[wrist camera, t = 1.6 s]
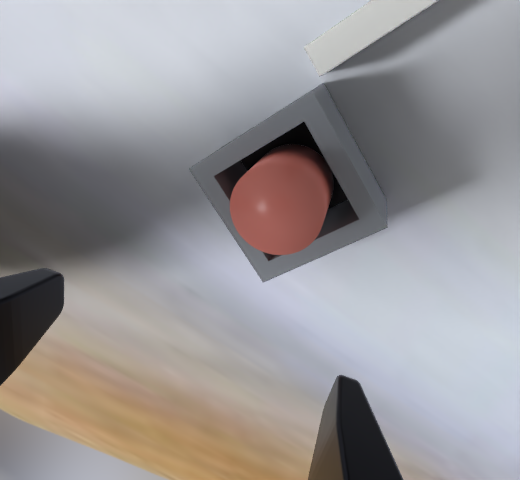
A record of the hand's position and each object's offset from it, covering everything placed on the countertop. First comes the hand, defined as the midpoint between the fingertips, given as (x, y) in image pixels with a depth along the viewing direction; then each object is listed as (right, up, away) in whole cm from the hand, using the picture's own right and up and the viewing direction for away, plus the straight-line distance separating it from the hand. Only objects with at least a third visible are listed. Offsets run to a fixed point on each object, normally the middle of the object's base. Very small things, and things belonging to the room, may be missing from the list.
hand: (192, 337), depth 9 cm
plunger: (+3, +5, +10) cm, 11 cm away
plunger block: (+3, +5, +11) cm, 13 cm away
